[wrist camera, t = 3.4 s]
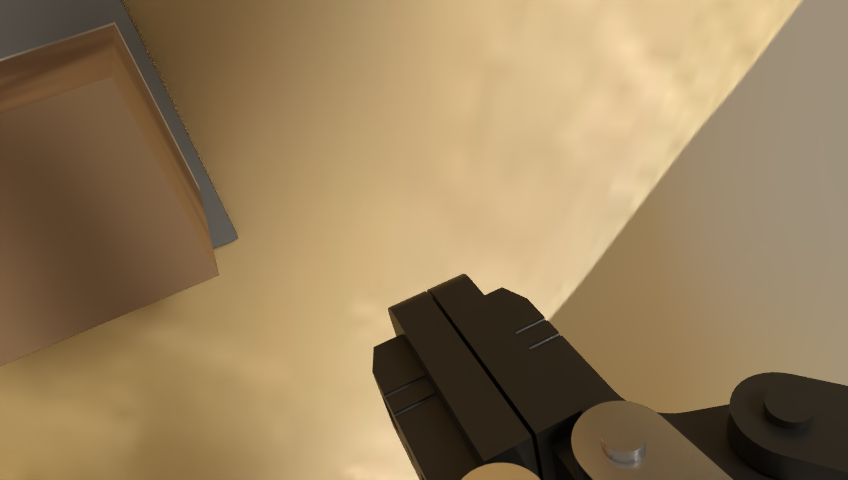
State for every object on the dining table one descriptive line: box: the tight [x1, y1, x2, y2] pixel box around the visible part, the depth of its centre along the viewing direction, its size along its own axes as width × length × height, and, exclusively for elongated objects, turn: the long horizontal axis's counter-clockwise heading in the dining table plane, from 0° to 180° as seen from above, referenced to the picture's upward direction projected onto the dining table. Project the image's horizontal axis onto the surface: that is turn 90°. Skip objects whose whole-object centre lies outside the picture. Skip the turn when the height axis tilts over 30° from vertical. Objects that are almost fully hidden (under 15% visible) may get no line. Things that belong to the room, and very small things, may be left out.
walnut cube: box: [0, 22, 219, 366], centre depth 21 cm, size 7×7×7 cm
